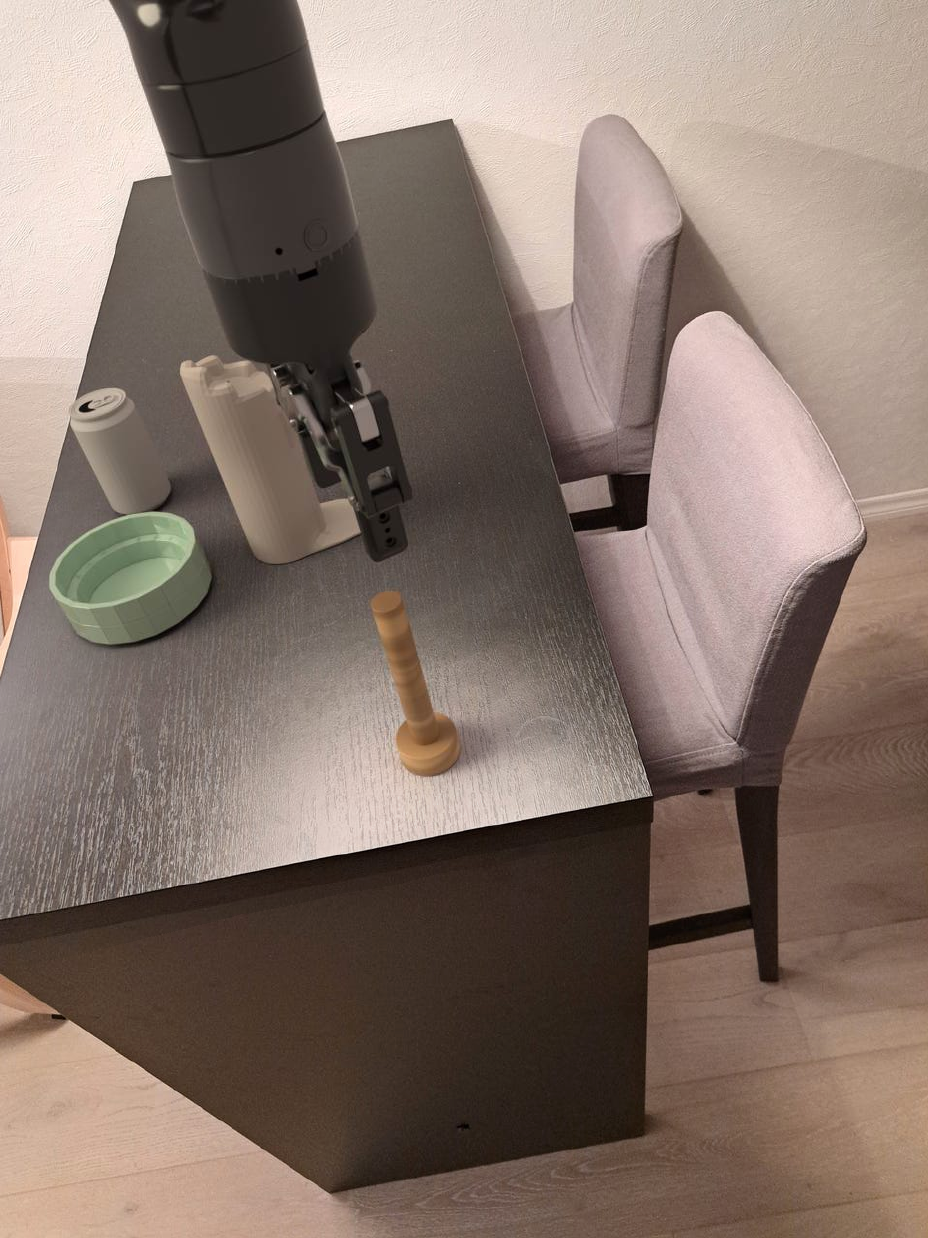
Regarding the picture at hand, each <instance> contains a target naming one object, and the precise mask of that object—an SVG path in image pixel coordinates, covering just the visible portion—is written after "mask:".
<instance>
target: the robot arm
mask: <svg viewBox="0 0 928 1238" xmlns="http://www.w3.org/2000/svg"><path fill="white" fill-rule="evenodd" d="M108 2H109V4H110V5H111V7H112V9H113V11H114V13H115V15H116V17H117V19H118V21H119V23H120V25H121V28H122V29H123V32H124V34H125V37H126V40H127V43H128V47H129V51H130V54H131V57H132V61H133V64H134V67H135V71H136V74H137V76H138V79H139V81H140V84H141V87H142V90H143V92H144V95H145V98H146V101H147V103H148V106H149V109H150V113H151V115H152V117H153V120H154V124H155V126H156V129H157V132H158V134H159V137H160V140H161V143H162V146H163V149H164V153H165V157H166V158H167V162H168V166H169V170H170V175H171V178H172V183H173V188H174V193H175V196H176V201H177V204H178V209H179V211H180V214H181V218H182V221H183V223H184V227H185V229H186V232H187V234H188V237H189V240H190V243H191V245H192V249H193V251H194V253H195V257H196V260H197V262H198V265H199V268H200V271H201V273H202V275H203V278H204V282H205V284H206V287H207V290H208V292H209V296H210V299H211V301H212V303H213V306H214V309H215V312H216V315H217V317H218V320H219V323H220V326H221V327H222V331H223V334H224V336H225V339H226V342H227V344H228V346H229V348H230V349H231V350H232V351H233V352H234V353H235V354H236V355H238V356H239V357H241V358H242V359H245V360H246V361H250V362H254V363H258V364H265V366H266V369H267V372H268V376H269V377H270V379H271V381H272V384H273V388H274V391H275V394H276V401H277V404H278V405H279V406H281V408H282V410H283V411H284V412H285V414H286V416H287V418H288V419H289V420H288V421H289V424H290V426H291V428H293V429H294V430H295V432H296V433H297V434H298V437H299V440H300V443H301V446H302V450H303V454H304V457H305V460H306V462H307V464H308V465H307V466H308V467H309V471H310V473H311V474H310V475H311V476H312V477H311V478H312V479H313V480H312V481H314V482H315V483H314V484H316V485H317V487H318V488H320V489H327V488H330V487H332V486H334V485H337V484H339V483H342V485H343V487H344V490H345V492H346V494H347V498H348V500H349V503H350V505H351V506H353V509H354V512H355V515H356V519H357V522H358V525H359V529H360V532H361V534H360V535H361V538H362V541H363V546H364V548H365V552H366V553H367V555H368V556H369V558H370V559H371V561H373V562H375V563H381V562H383V561H385V560H387V559H390V558H392V557H394V556H397V555H399V554H401V553H404V551H406V550H407V548H408V546H409V540H408V536H407V533H406V532H407V531H406V528H405V524H404V521H403V516H402V513H401V509H400V505H402V504H405V503H408V502H410V501H412V500H413V489H412V487H411V484H410V482H409V477H408V473H407V470H406V466H405V462H404V459H403V456H402V452H401V448H400V444H399V440H398V437H397V433H396V429H395V426H394V422H393V417H392V414H391V409H390V402H389V400H388V399H389V398H387V396H386V395H385V394H384V393H383V391H382V389H380V388H379V389H376V390H373V391H371V390H372V383H371V381H370V378H369V376H368V374H367V372H366V369H365V367H364V365H363V363H362V361H361V360H359V359H357V360H354V359H353V357H352V356H351V349H352V347H353V345H354V344H355V342H357V340H358V339H359V337H361V336H362V335H363V334H364V333H366V332H367V330H369V328H370V327H371V325H372V324H373V323H374V320H375V318H376V317H377V316H376V315H377V312H378V301H377V297H376V293H375V289H374V284H373V281H372V280H373V279H372V276H371V272H370V268H369V264H368V259H367V256H366V252H365V251H366V250H365V247H364V243H363V239H362V234H361V230H360V224H359V221H358V216H357V212H356V209H355V204H354V199H353V195H352V191H351V188H350V183H349V179H348V174H347V171H346V167H345V164H344V160H343V158H342V154H341V152H340V148H339V147H338V144H337V141H336V139H335V136H334V134H333V131H332V128H331V126H330V122H329V117H328V115H327V112H326V109H325V103H324V99H323V95H322V92H321V87H320V83H319V78H318V74H317V71H316V66H315V62H314V58H313V53H312V49H311V45H310V40H309V39H308V32H307V29H306V25H305V22H304V18H303V15H302V11H301V8H300V4H299V2H298V0H108ZM376 472H378V474H379V475H378V476H376V477H373V478H371V479H369V480H368V478H369V476H370V475H372V474H373V473H376Z"/></svg>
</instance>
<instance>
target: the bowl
mask: <svg viewBox="0 0 928 1238" xmlns="http://www.w3.org/2000/svg"><path fill="white" fill-rule="evenodd" d="M202 546H203V545H202V544H201V542H200V539H199V537H198V535H197V533H196V531H195V528H194V527H193V526H192V525H191V524H190V523H189V522H188V521H187V520H186V519H185V518H183V517H181V516H179V515H176V514H174V513H171V512H166V511H165V512H164V511H150V512H145V513H137V514H130V515H124V516H120V517H118V518H114V519H110V520H109V521H106V522H105V523H102V524H100V525H98V526H96V527H94V528H92V529H90V530H88V531H87V532H85V533H84V534H83V535H81V536H80V537H79V538H77V539H75V540H73V542H71V543H70V544H69V545H68V546H67V547H66V548H65V549H64V551H63V552H62V553H61V554H60V555H59V556H58V557H57V558H56V560H55V562H54V564H53V566H52V568H51V570H50V572H49V578H48V579H49V581H48V589H49V590H50V592H51V593H52V595H53V597H54V599H55V600H56V602H57V603H58V605H59V606H60V608H61V610H62V611H63V613H64V615H65V616H66V618H67V620H68V621H69V623H70V624H71V626H72V628H73V630H74V631H75V632H76V634H77V635H78V636H80V637H81V638H84V639H85V640H87V641H89V642H91V643H94V644H95V643H96V644H103V645H109V646H113V645H122V644H130V643H136V642H139V641H142V640H145V639H148V638H151V637H155V636H157V635H159V634H161V633H163V632H165V631H167V630H168V629H170V628H172V627H174V626H175V625H177V624H179V623H180V622H181V621H182V620H184V619H185V618H186V617H188V615H190V614H191V613H192V612H193V611H195V609H197V608H198V606H199V605H200V604H201V602H202V601H203V599H205V597H206V595H207V594H208V592H209V589H210V586H211V582H212V578H213V575H212V570H211V569H212V568H211V564H210V562H209V560H208V558H207V555H206V553H205V551H204V549H203V547H202Z"/></svg>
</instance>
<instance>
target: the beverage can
mask: <svg viewBox="0 0 928 1238" xmlns="http://www.w3.org/2000/svg"><path fill="white" fill-rule="evenodd" d="M68 414H69V416H70V422H69V425H70V428H71V430H72V431H73V433H74V435H75V437H76V439H77V441H78V444H79V445H80V448H81V449H82V451H83V453H84V455H85V457H86V460H87V461H88V463H89V465H90V467H91V469H92V471H93V473H94V475H95V477H96V479H97V481H98V482H99V485H100V487H101V488H102V490H103V492H104V494H105V496H106V498H107V500H108V503H109V504H110V506H111V508H112V510H113V511H115V512H116V513H118V514H121V515H125V516H127V515H130V514H137V513H145V512H154V510H156V509H158V508H159V507H161V506H162V505H163V504H164V503H165V502H166V501H167V498H168V497H169V495H170V494H171V491H172V485H171V483H170V480H169V478H168V475H167V473H166V472H165V469H164V466H163V465H162V462H161V460H160V458H159V456H158V454H157V452H156V449H155V447H154V444H153V442H152V440H151V438H150V435H149V433H148V431H147V429H146V427H145V424H144V422H143V419H142V418H141V415H140V413H139V410H138V409H137V406H136V404H135V402H134V401H133V400H132V399H131V398H129V397H128V396H127V394H126V391H124V390H123V389H122V388H119V387H118V388H117V387H106V388H101V389H96V390H93V391H91V392H88V393H86V394H84V395H82V396H80V397H78V398H77V399H76V400H75V401H73V403H71V405H70V406H69V408H68Z"/></svg>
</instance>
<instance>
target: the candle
mask: <svg viewBox="0 0 928 1238" xmlns="http://www.w3.org/2000/svg"><path fill="white" fill-rule="evenodd" d="M179 374H180V378H181V380H182V383H183V385H184V387H185V390H186V392H187V395H188V397H189V400H190V403H191V405H192V407H193V409H194V412H195V415H196V418H197V419H198V420H197V421H198V423H199V425H200V427H201V429H202V432H203V435H204V437H205V439H206V442H207V444H208V446H209V449H210V452H211V454H212V456H213V459H214V461H215V464H216V466H217V470H218V471H219V474H220V476H221V478H222V481H223V483H224V486H225V488H226V491H227V493H228V496H229V498H230V501H231V503H232V505H233V508H234V510H235V513H236V516H237V518H238V520H239V522H240V523H239V524H240V525H241V527H242V530H243V532H244V535H245V538H246V539H247V543H248V544H249V547H250V550H251V552H252V554H253V557H255V558H256V559H257V560H259V561H260V562H262V563H266V564H271V565H281V564H289V563H292V562H295V561H298V560H300V559H304V558H305V557H308V556H309V555H310V556H311V555H312V554H315V553H318V552H321V551H323V550H326V549H328V548H331V547H334V546H336V545H340V544H341V543H344V542H346V541H348V540H350V539H352V538H354V537H357V536H358V535H361V532H360V529H359V525H358V522H357V519H356V515H355V512H354V509H353V506H351V505H350V503H349V500H348V497H347V498H337V499H333V500H329V501H325V502H321V503H320V502H319V498H318V495H317V492H316V488H315V486H314V483H313V480H312V477H311V474H310V472H309V471H310V470H309V469H308V465H307V463H306V462H307V461H306V457H305V453H304V450H303V446H302V443H301V440H300V437H299V434H298V433H296V432H295V430H294V429H293V428H291V426H290V424H289V421H288V420H289V419H288V418H287V416H286V414H285V412H284V411H283V410H282V408H281V406H279V405H278V404H277V401H276V394H275V391H274V388H273V384H272V381H271V378H270V375H269V374H267V373H266V372H264V371H260V370H257V368H256V366H255V364H254V363H252V361H250V360H240V361H236V362H232V363H223V362H222V360H221V359H220V357H219V356H218V355H212V354H211V355H209V356H206V357H204V358H202V359H200V360H199V361H197V362H196V363H195V362H194V361H193V360H190V359H187V360H184V361H183V362H181V364H180V369H179Z"/></svg>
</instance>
